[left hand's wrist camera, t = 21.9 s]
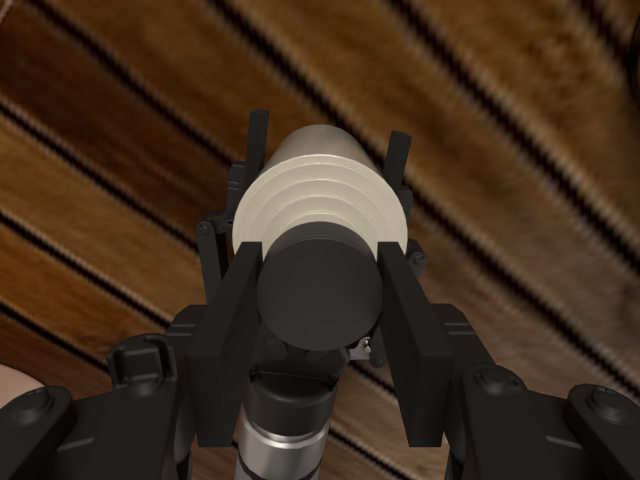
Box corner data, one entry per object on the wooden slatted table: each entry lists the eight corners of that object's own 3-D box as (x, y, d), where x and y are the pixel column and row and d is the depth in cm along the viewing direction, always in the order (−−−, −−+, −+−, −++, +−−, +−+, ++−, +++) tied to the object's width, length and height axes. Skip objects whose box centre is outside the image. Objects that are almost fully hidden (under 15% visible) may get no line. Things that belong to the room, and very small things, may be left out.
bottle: (338, 238, 33) (360, 408, 16) (253, 195, 32) (171, 328, 14) (388, 155, 31) (481, 246, 13) (298, 104, 29) (265, 128, 12)
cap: (241, 249, 14) (231, 269, 13) (350, 201, 14) (354, 216, 12) (293, 338, 16) (290, 367, 14) (394, 299, 15) (402, 324, 13)
